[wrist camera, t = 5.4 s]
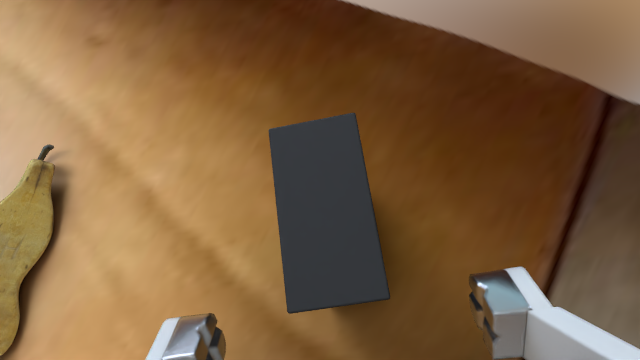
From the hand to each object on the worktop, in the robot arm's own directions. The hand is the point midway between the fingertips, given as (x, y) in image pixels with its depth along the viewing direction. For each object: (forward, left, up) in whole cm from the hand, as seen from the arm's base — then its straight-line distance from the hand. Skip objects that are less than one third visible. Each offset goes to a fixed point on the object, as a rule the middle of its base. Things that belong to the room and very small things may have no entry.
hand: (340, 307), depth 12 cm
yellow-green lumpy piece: (+18, +11, -9) cm, 23 cm away
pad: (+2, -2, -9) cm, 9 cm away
